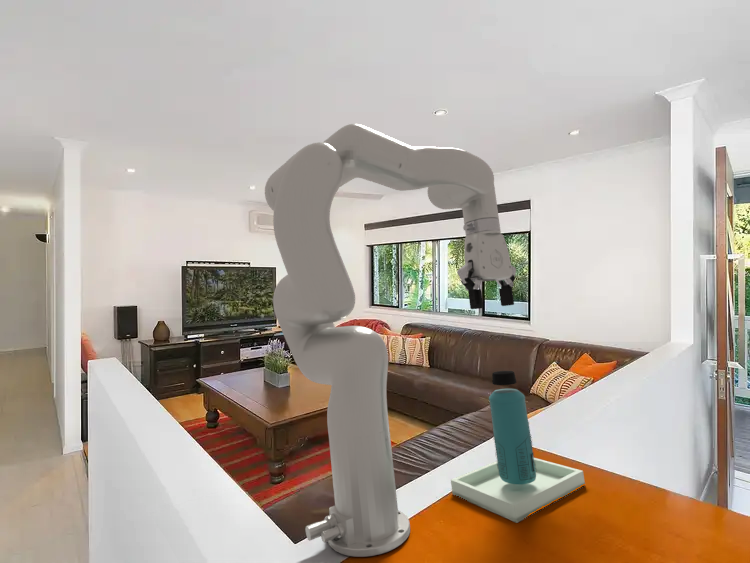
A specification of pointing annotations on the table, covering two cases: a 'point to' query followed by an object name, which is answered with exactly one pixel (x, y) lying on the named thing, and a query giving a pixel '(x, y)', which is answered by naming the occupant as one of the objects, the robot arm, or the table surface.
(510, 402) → the beverage bottle
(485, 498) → the tray
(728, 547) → the table surface
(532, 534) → the table surface
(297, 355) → the robot arm
